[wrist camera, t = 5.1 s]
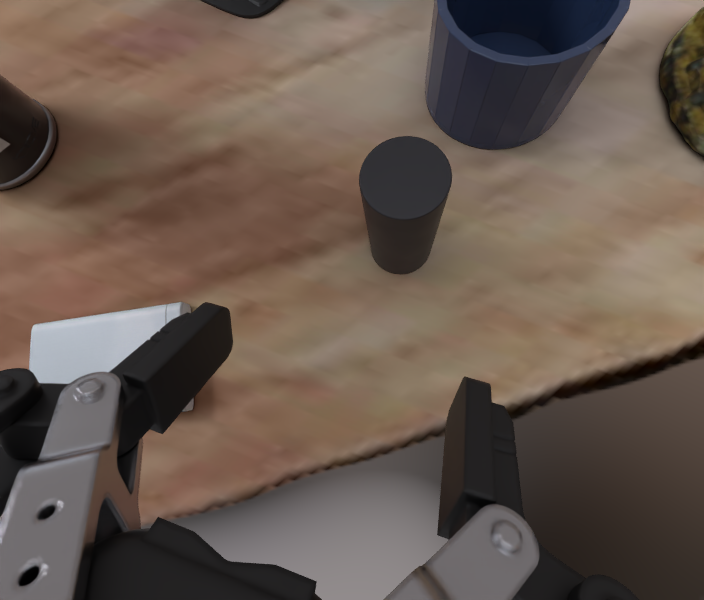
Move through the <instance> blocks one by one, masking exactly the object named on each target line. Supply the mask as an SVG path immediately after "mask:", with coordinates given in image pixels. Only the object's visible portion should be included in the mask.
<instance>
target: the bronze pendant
mask: <svg viewBox="0 0 704 600" xmlns="http://www.w3.org/2000/svg"><path fill="white" fill-rule="evenodd" d="M659 76H660V86H661V88H662V90H663V92H664V94H665V96H666V98H667V99H668V102H669V107H670V117H671V120H672V121H673V122H674V123H675V125H676V126H677V128H678V130H679V131H680V132H681V133H682V136H683V138H684V139H685V141H686V142H687V143H688V144H690V146H691V148H692V149H693V150H695V151H696V152H698V153H699V154H701V155H702V156H704V7H703V8H701V9H700V10H699V11H698V12H697V13H696V14H695V15H694V16H693V17H692V18H691V19H690V20H689V21H688V22H687V23H686V24H685V25H684V26H683V27H682V29H681V30H680V31H679V32H678V33H677V34H676V35H675V37H674V38H673V39H672V40H671V42H670V43H669V45H668V47H667V48H666V51H665V54H664V56H663V59H662V62H661V66H660V75H659Z"/></svg>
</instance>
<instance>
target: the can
mask: <svg viewBox="0 0 704 600" xmlns="http://www.w3.org/2000/svg"><path fill="white" fill-rule="evenodd" d="M629 6H630V0H434V9H433V18H432V26H431V35H430V44H429V53H428V62H427V71H426V80H425V86H426V87H425V96H426V102H427V106H428V109H429V112H430V114H431V116H432V117H433V119H434V121H435V122H436V123H437V125H438V126H439V127H440V128H441V129H442V130H443V131H444V132H445V133H446V134H448V135H449V136H451V137H452V138H454V139H455V140H457V141H459V142H461V143H464V144H466V145H469V146H472V147H477V148H482V149H507V148H512V147H516V146H520V145H522V144H525V143H528V142H530V141H532V140H534V139H536V138H537V137H539V136H540V135H542V134H543V133H544V132H546V131H547V130H548V129H549V128H550V127H551V126H552V125H553V124H554V123H555V121H556V120H557V119H558V117H559V116H560V114H561V113H562V111H563V110H564V108H565V107H566V105H567V104H568V102H569V100H570V99H571V97H572V96H573V94H574V93H575V91H576V90H577V88H578V87H579V85H580V84H581V82H582V81H583V79H584V77H585V76H586V74H587V73H588V71H589V70H590V68H591V67H592V65H593V64H594V62H595V61H596V59H597V58H598V56H599V55H600V53H601V51H602V50H603V48H604V47H605V45H606V44H607V42H608V41H609V39H610V38H611V36H612V35H613V33H614V32H615V30H616V28H617V27H618V25H619V24H620V22H621V21H622V19H623V18H624V16H625V15H626V13H627V11H628V9H629Z"/></svg>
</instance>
